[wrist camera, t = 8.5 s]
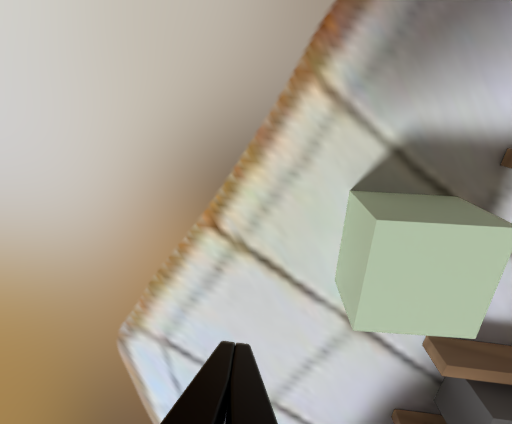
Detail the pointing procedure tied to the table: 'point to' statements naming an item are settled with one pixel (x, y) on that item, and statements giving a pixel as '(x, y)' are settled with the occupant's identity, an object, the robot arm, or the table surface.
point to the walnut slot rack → (463, 360)
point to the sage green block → (419, 263)
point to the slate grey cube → (474, 401)
